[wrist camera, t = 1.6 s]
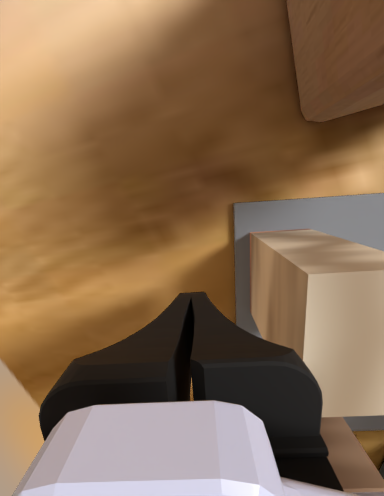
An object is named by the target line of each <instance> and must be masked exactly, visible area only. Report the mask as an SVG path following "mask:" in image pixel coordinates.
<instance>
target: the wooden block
mask: <svg viewBox="0 0 384 496" xmlns="http://www.w3.org/2000/svg"><path fill="white" fill-rule="evenodd" d="M286 2H287V9H288V17H289V24H290V32H291V39H292V47H293V54H294V62H295V69H296V77H297V84H298V92H299V99H300V107H301V112H302V114H303V116H304V118H305V120H306V121H316V122H324V121H328V120H331V119H335V118H338V117H342V116H345V115H349V114H352V113H355V112H359V111H362V110H366V109H369V108H373V107H376V106H380V105H383V104H384V0H286Z"/></svg>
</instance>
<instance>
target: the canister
mask: <svg viewBox="0 0 384 496" xmlns="http://www.w3.org/2000/svg"><path fill="white" fill-rule="evenodd" d="M379 473H380V475H381V476H382V478H383V479H384V462H383V464H382V466H381V468H380V471H379Z"/></svg>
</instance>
